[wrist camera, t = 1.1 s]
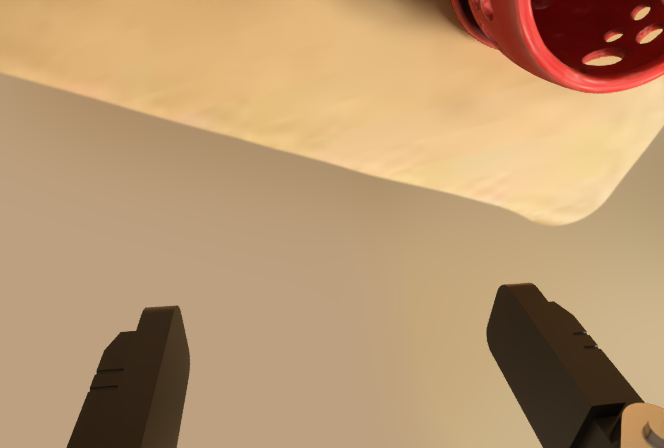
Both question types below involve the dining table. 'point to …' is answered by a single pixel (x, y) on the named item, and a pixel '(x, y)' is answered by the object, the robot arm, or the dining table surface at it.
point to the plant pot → (572, 39)
